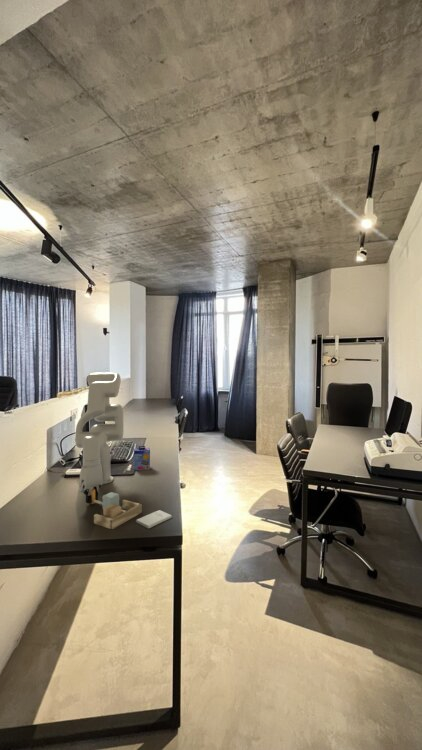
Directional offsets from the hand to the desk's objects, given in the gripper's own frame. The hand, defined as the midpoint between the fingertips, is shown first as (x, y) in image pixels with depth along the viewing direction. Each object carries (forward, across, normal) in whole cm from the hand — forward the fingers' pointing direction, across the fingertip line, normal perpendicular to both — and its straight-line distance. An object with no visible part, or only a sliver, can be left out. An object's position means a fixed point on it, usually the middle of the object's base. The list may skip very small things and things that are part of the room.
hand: (91, 501), depth 153 cm
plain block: (+1, +8, +21) cm, 23 cm away
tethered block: (+1, 0, +7) cm, 7 cm away
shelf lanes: (+1, +4, +21) cm, 21 cm away
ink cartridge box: (+2, -52, -14) cm, 54 cm away
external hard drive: (+2, -2, +35) cm, 35 cm away
